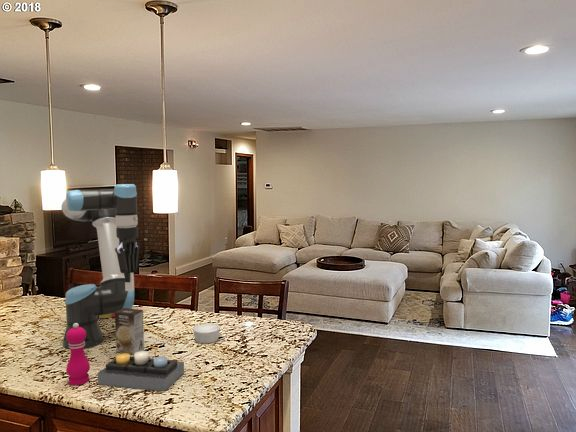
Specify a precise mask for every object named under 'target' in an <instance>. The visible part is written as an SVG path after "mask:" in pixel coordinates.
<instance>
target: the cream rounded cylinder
mask: <svg viewBox="0 0 576 432" xmlns="http://www.w3.org/2000/svg"><path fill="white" fill-rule="evenodd" d="M133 355H134V356H133V357H135V364H137V365H138V366H145V364H146V363H148V358H149V352H148V351H147V350H142V351H139V352H136V353H135V354H133Z"/></svg>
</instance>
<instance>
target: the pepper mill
mask: <svg viewBox="0 0 576 432" xmlns="http://www.w3.org/2000/svg"><path fill="white" fill-rule="evenodd" d="M66 338H67V340H68V341H69V348H70V349H69V351H70V357H69V360H68V362H67V365H66V371H65V372H66V374H67V376H69V377H68V384H69V385H70V386H81V385H83V384H86V383H88V382H89V380H90V375H89V371H90V368H91V365H90V362H89V360H88V358H87V355H86V354H85V348H84V346H85V341H84V339H85V338H86V331H85V330H84V329H83V328H81V327H79V324H78V323H74V324H73V328H71V329H70V330H69V331H68V332H67V335H66Z"/></svg>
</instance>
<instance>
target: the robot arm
mask: <svg viewBox="0 0 576 432" xmlns="http://www.w3.org/2000/svg"><path fill="white" fill-rule="evenodd" d="M137 198H138V192H137V186H136V185H135V184H134V183H120V184H119V183H118V184H115V185H114V188H111V189H109V188H108V189H106V188H105V189H104V188H103V189H74V190H68V191H67V192H66V197H65V199H64V200H63V202H62V204H61V212H62V213H63V215H64V216H65V217H66V218H67V219H70V220H72V221H78V222H91V224H92V226H93V227H94V228H96V233H97V234H96V235H97V243H98V249H99V257H100V264H101V273H102V280H101V281H100V282H99V286H97V285H96V284H94V283H89V284H81V285H77V286H74V287H71V288H70V289H68V290H67V291H66V292H65V298H64V299H65V301H64V304H65V314H66V315H65V316H66V317H65V318H66V329H65V332H64V336H63V338H62V346H63V348H65V347H66V348H65V349H68V348H69V341H68V340H67V338H66V335H67V332H68V331H69V330H70V329H71V328H73V324H74V323H78V324H79V327H81V328H83V329H84V330H85V331H86V338H85V339H84V341H85V346H84V349H87V348H91V347H95V346H98V345H100V344H101V343H103V341H104V334H103V332H102V329H101V327H100V324H99V321H98V320H99V319H98V318H97V316H99V315H105V314H112V313H115V312H116V311H118V310H121V309H123V308H131V309H133V307H134V301H135V273H137V272H138V271H137V270H138V262H139V253H140V247H141V243H140V242H137V239H136V238H137V237H139V227H138V220H139V218H138V201H137V200H138V199H137ZM96 287H97V288H96Z"/></svg>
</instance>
